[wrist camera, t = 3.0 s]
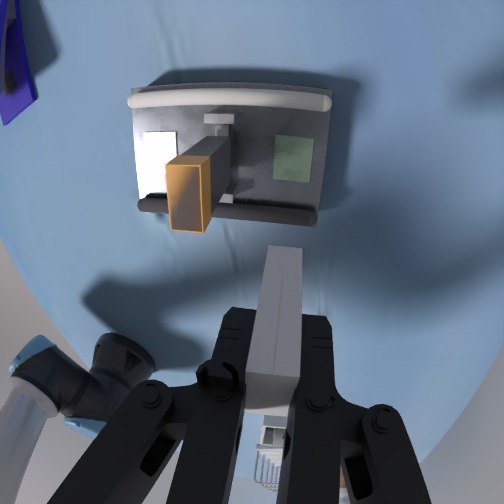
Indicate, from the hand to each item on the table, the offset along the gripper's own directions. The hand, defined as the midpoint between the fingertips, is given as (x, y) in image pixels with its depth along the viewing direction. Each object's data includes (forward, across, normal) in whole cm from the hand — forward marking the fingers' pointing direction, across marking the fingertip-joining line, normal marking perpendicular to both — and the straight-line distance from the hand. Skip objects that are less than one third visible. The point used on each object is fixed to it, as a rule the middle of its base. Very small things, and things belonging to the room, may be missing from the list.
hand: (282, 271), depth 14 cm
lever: (+19, +7, 0) cm, 21 cm away
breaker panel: (+24, +7, 0) cm, 25 cm away
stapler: (+25, +48, -21) cm, 58 cm away
